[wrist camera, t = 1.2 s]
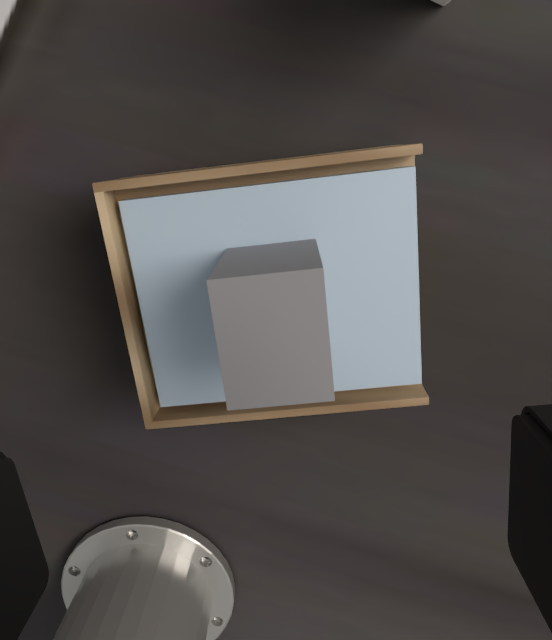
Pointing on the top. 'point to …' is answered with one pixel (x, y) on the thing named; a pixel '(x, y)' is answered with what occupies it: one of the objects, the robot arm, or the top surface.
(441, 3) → the ink box
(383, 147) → the beech box
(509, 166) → the top surface
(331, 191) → the cover plate
